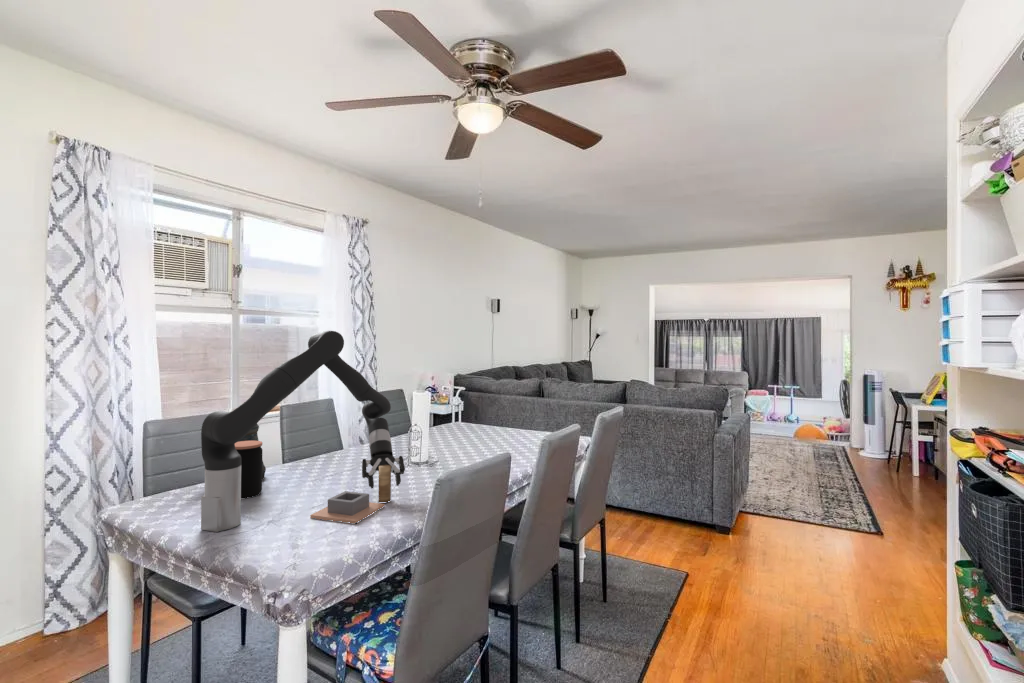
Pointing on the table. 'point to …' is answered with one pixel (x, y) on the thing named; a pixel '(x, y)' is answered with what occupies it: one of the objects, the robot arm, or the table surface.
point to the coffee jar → (250, 467)
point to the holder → (347, 507)
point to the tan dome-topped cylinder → (384, 483)
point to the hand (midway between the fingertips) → (385, 485)
